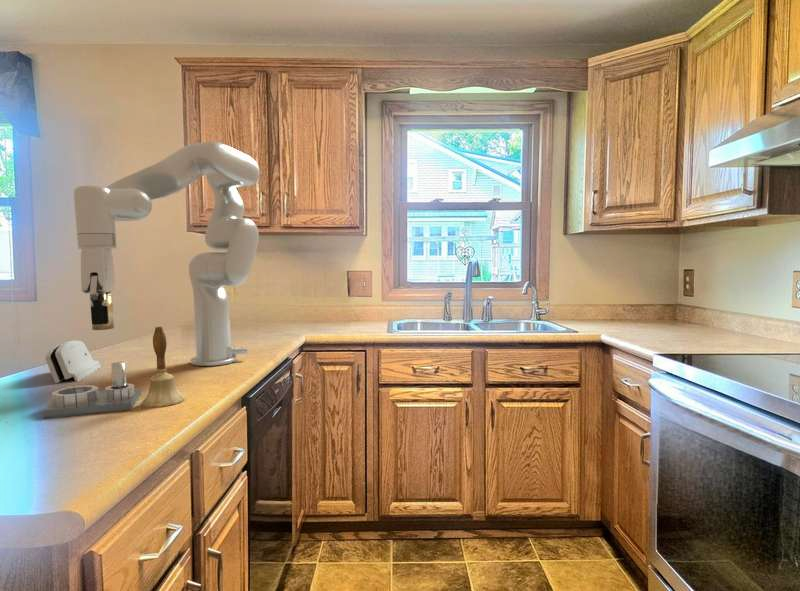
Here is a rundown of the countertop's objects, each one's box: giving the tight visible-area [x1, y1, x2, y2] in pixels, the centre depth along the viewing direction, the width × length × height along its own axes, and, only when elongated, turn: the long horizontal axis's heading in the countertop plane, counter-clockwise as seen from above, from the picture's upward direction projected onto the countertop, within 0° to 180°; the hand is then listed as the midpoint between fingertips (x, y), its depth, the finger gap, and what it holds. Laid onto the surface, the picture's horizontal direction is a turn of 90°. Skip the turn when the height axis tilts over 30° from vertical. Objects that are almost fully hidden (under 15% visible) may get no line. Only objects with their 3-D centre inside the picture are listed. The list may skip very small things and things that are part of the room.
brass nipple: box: [89, 292, 115, 331], centre depth 114 cm, size 4×4×8 cm
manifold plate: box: [42, 361, 142, 419], centre depth 103 cm, size 15×12×8 cm
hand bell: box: [141, 326, 186, 408], centre depth 105 cm, size 8×8×16 cm
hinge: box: [45, 340, 102, 384], centre depth 130 cm, size 17×5×10 cm, turn 13°
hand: (103, 321), depth 114 cm, fingers closed on brass nipple, 4 cm apart
